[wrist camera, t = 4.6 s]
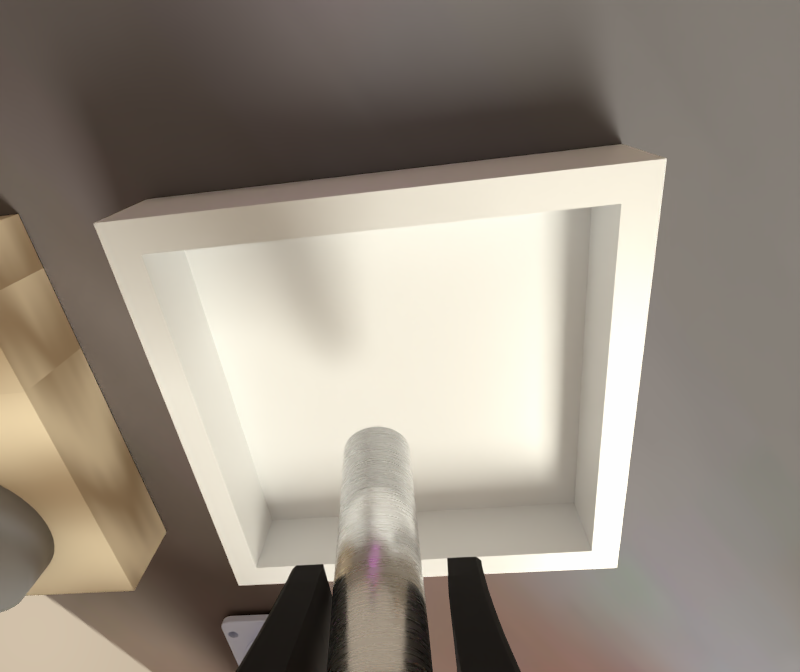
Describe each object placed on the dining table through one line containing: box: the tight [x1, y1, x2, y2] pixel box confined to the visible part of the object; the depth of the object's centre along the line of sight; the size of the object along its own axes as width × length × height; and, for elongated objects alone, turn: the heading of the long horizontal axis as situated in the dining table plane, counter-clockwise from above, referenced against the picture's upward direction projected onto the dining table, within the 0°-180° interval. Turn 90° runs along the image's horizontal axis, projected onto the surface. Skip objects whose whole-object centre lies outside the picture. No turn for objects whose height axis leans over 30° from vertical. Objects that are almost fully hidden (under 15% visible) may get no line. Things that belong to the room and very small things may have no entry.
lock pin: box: [327, 426, 433, 672], centre depth 11 cm, size 3×3×8 cm
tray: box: [93, 144, 667, 586], centre depth 18 cm, size 15×15×3 cm
